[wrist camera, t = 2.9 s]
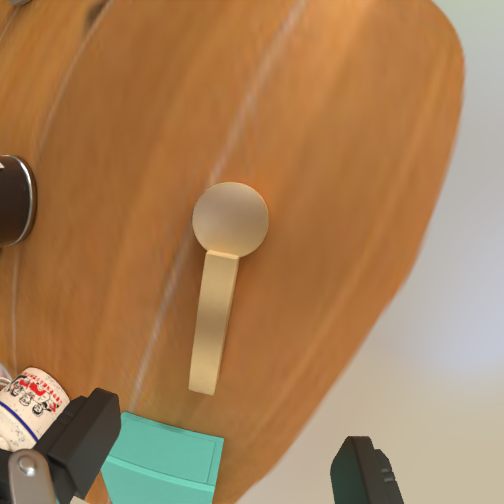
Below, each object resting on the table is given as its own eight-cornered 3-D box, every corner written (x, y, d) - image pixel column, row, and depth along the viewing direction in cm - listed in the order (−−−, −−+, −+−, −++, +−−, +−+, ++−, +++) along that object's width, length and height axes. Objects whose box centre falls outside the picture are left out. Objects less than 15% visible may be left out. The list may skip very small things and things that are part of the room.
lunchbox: (209, 503, 32) (202, 538, 25) (133, 483, 32) (120, 515, 25) (224, 437, 28) (215, 485, 21) (123, 410, 28) (99, 450, 21)
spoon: (236, 379, 26) (232, 399, 23) (178, 366, 26) (169, 385, 23) (274, 189, 22) (275, 190, 19) (204, 176, 22) (194, 175, 19)
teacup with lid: (76, 389, 28) (24, 451, 17) (75, 430, 30) (36, 485, 19) (7, 340, 28) (-50, 382, 16) (12, 386, 30) (-32, 427, 18)
